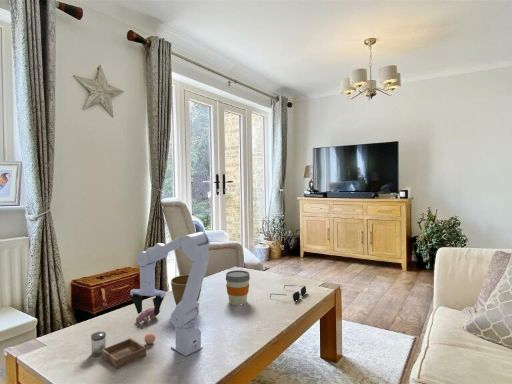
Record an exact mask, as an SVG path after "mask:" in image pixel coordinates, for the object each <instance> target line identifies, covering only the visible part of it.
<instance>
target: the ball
mask: <svg viewBox="0 0 512 384" xmlns="http://www.w3.org/2000/svg"><path fill="white" fill-rule="evenodd" d="M155 341H156V335H155V333H152V332H147V333H146V334H145V336H144V342H145V343H146V344H147V345H152V344H153V343H154V342H155Z"/></svg>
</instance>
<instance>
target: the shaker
mask: <svg viewBox="0 0 512 384" xmlns="http://www.w3.org/2000/svg"><path fill="white" fill-rule="evenodd" d="M106 335H107V334H106V331H97V332H94V333H92V334H91V335H90V341H91V356H92V357H94V358H96V357H97V358H98V357H102V349H104V348H107V346H106V343H107V340H106V337H107V336H106Z"/></svg>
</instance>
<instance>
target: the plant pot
mask: <svg viewBox="0 0 512 384" xmlns="http://www.w3.org/2000/svg"><path fill="white" fill-rule="evenodd" d="M188 277H189V274H183V275H177V276H173V278H171V280H170V285H171V290H172V295H173V299H174V303H175V307H176V306H177V305H178V303H179V302H180V301H181V300H182V297H183V294H184V291H185V287H186V284H187V281H188ZM202 285H203V284H202ZM202 285H201V288H200V292H199V295H198V298H197V302H198V303H199V300H200V296H201V292H202V291H201V290H202Z"/></svg>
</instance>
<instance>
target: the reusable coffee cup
mask: <svg viewBox="0 0 512 384" xmlns="http://www.w3.org/2000/svg"><path fill="white" fill-rule="evenodd" d="M250 279H251V275H250V272H249V271H247V270H243V269H242V270H239V269H238V270H230V271H227V272H226V273H225V281H226V284H225V285H226V292H227V296H228V302H229V304H230V305H232V304H233V306H242V305H241V304H243V305H245V304H246V303H247V300H248V295H249V288H250Z"/></svg>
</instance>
